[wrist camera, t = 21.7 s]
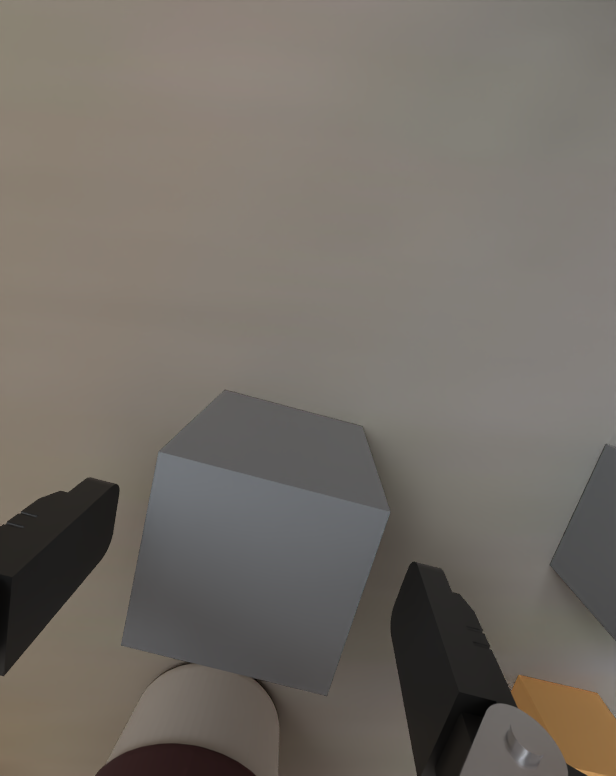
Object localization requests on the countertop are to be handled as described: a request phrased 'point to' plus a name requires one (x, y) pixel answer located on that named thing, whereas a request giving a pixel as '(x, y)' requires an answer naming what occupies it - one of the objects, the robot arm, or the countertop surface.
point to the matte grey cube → (593, 544)
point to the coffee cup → (199, 728)
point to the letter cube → (572, 723)
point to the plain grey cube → (257, 543)
